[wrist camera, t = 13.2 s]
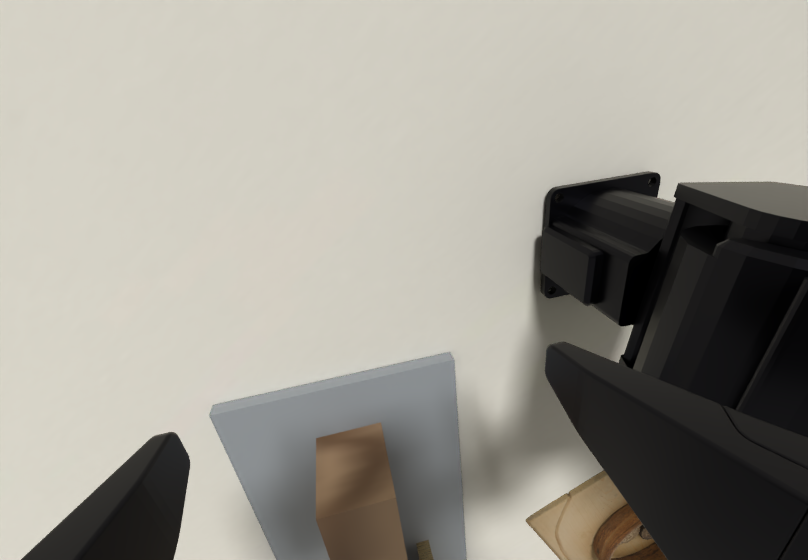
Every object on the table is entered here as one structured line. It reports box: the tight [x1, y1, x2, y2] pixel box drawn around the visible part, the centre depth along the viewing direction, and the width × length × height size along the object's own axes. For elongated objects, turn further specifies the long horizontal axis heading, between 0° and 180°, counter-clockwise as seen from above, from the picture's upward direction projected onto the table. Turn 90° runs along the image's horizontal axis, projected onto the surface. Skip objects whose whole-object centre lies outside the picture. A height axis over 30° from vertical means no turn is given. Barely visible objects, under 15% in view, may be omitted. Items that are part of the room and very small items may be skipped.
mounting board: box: [209, 352, 467, 560], centre depth 27 cm, size 14×24×1 cm, turn 6°
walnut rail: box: [316, 422, 408, 560], centre depth 25 cm, size 4×18×5 cm, turn 6°
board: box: [526, 470, 667, 560], centre depth 37 cm, size 25×15×3 cm, turn 33°
